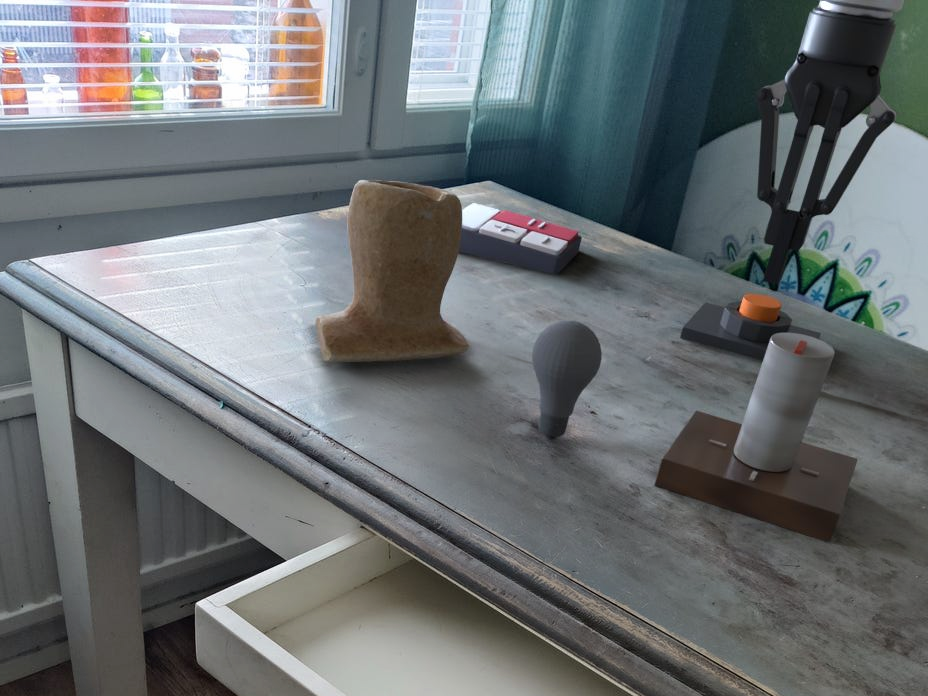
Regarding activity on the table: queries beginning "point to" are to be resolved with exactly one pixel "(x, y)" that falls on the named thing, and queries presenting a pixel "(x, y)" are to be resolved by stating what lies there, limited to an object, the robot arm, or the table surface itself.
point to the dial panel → (757, 478)
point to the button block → (737, 330)
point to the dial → (783, 401)
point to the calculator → (517, 239)
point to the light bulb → (563, 371)
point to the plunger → (760, 307)
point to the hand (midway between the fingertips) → (772, 279)
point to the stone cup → (397, 275)
